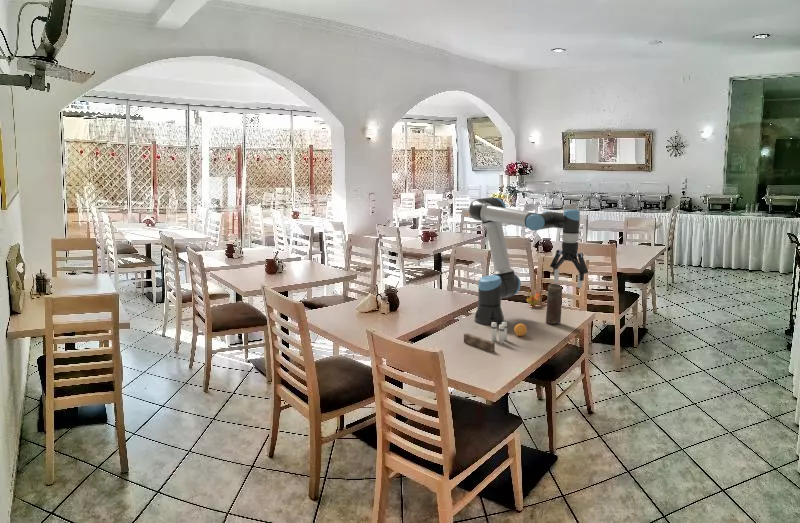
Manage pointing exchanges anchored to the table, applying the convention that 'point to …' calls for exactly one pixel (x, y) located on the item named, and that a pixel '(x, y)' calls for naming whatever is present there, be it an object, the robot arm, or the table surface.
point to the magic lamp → (533, 299)
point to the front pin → (505, 330)
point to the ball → (520, 329)
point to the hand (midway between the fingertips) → (567, 284)
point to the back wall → (479, 342)
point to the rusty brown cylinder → (554, 304)
